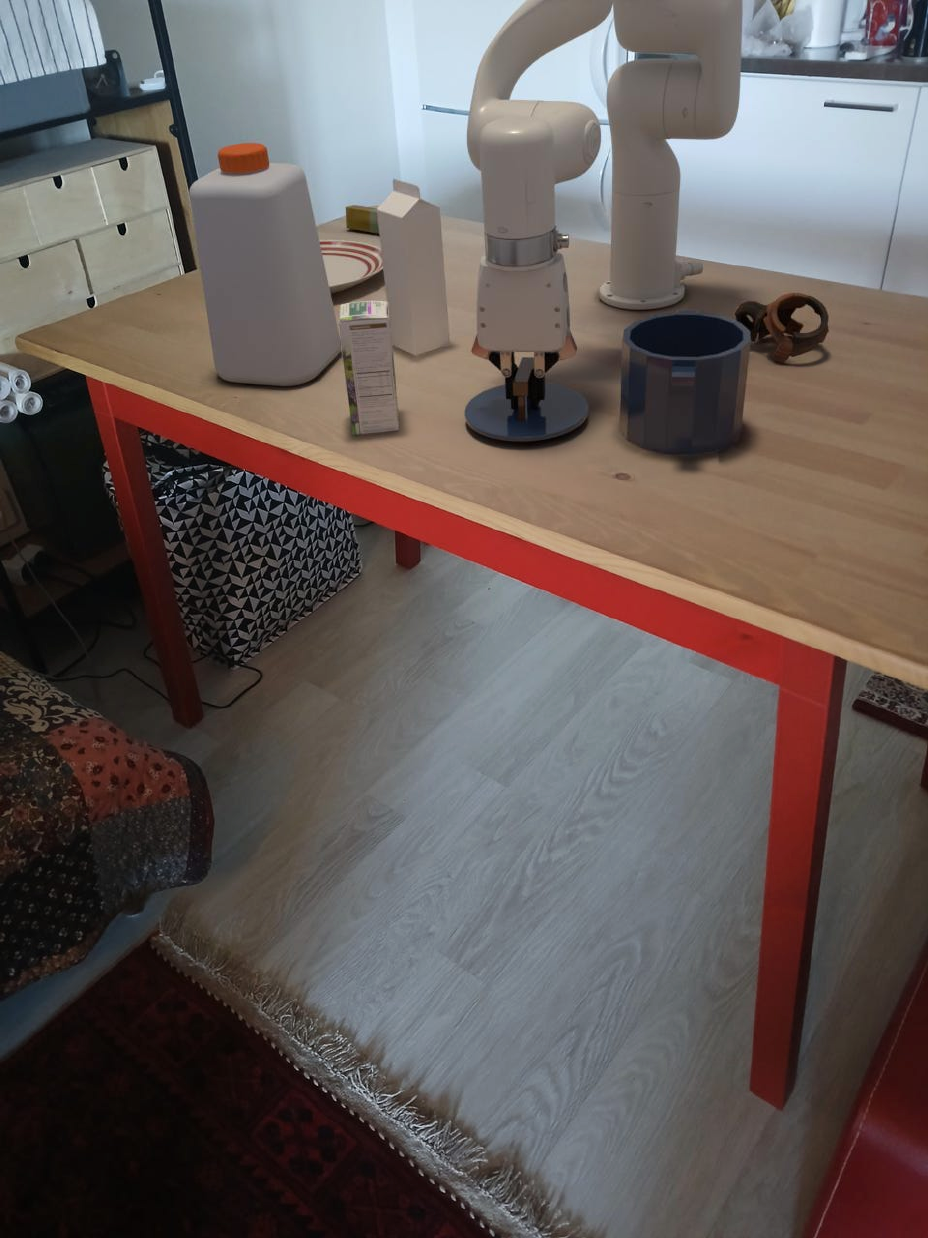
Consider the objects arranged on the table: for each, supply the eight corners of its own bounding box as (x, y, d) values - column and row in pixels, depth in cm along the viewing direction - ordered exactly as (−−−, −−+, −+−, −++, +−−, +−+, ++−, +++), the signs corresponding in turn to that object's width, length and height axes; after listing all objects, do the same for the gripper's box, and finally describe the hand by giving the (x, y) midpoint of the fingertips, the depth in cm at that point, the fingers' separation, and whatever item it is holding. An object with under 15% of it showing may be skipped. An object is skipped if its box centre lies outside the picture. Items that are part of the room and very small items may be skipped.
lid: (594, 391, 126) (594, 344, 122) (581, 448, 114) (581, 398, 111) (477, 389, 128) (474, 343, 125) (454, 444, 117) (449, 395, 114)
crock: (739, 396, 124) (748, 303, 117) (741, 472, 110) (752, 371, 103) (626, 394, 127) (628, 303, 120) (613, 468, 112) (616, 369, 105)
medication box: (405, 234, 187) (405, 211, 185) (396, 237, 185) (396, 213, 183) (354, 226, 193) (353, 203, 191) (345, 228, 191) (344, 205, 189)
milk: (415, 359, 140) (398, 191, 127) (391, 347, 144) (372, 183, 131) (451, 347, 143) (438, 180, 129) (426, 335, 147) (411, 173, 133)
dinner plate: (304, 246, 185) (301, 227, 183) (424, 267, 171) (422, 247, 169) (190, 295, 168) (186, 274, 166) (313, 322, 154) (310, 300, 152)
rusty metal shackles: (819, 337, 138) (842, 296, 130) (804, 392, 135) (826, 352, 127) (733, 311, 139) (750, 269, 132) (716, 364, 136) (732, 324, 128)
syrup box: (352, 418, 127) (336, 302, 118) (400, 413, 127) (387, 297, 118) (352, 439, 122) (335, 320, 113) (402, 434, 122) (389, 315, 113)
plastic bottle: (308, 391, 134) (270, 163, 117) (206, 384, 138) (155, 162, 121) (351, 346, 145) (322, 133, 128) (255, 341, 149) (215, 133, 133)
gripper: (597, 234, 111) (596, 392, 122) (455, 235, 114) (466, 389, 125) (590, 257, 105) (589, 420, 116) (441, 258, 108) (454, 417, 119)
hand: (525, 403), depth 120 cm, fingers closed on lid
